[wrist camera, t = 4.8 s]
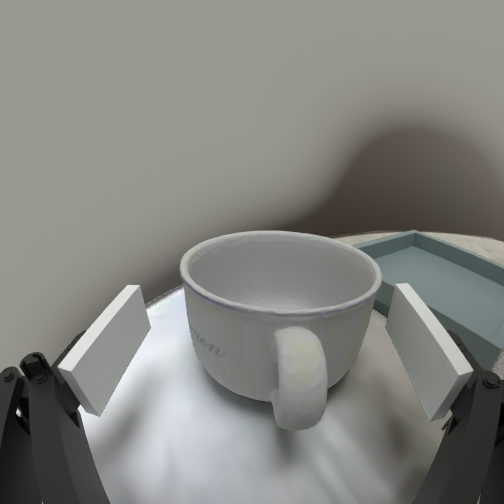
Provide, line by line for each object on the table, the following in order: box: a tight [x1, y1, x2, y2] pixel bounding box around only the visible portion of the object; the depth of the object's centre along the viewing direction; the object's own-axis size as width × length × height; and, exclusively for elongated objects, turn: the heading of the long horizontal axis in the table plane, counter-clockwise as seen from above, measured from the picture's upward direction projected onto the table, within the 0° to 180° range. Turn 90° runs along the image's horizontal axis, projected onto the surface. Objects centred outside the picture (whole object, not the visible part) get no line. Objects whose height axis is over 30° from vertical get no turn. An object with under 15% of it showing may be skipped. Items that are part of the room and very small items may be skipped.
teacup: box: [180, 231, 382, 431], centre depth 14 cm, size 14×11×8 cm
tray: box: [351, 230, 504, 371], centre depth 23 cm, size 17×20×3 cm
